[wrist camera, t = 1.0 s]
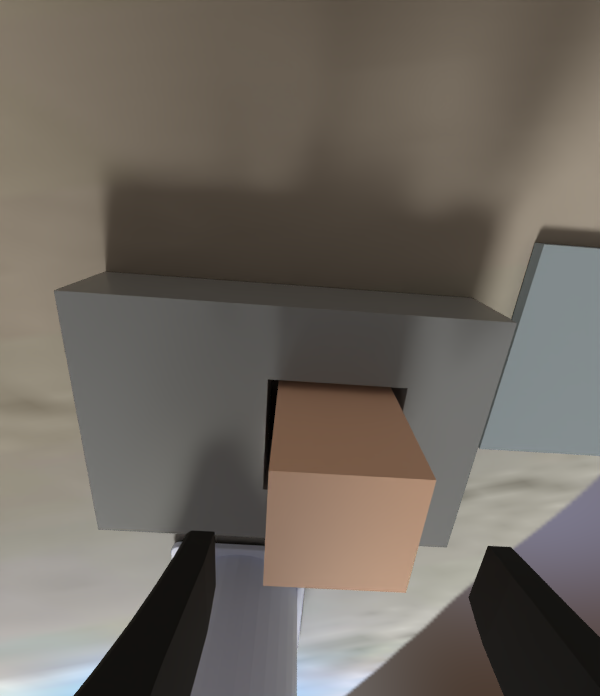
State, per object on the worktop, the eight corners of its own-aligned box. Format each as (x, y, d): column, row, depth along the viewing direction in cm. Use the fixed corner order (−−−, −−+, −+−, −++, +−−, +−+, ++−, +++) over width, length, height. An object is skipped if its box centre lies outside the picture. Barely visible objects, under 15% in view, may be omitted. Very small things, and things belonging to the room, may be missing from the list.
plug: (363, 438, 19) (405, 592, 11) (277, 433, 19) (262, 585, 11) (376, 359, 17) (436, 480, 10) (281, 352, 17) (268, 470, 10)
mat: (623, 450, 19) (633, 457, 18) (474, 441, 19) (479, 448, 18) (720, 257, 15) (735, 259, 15) (535, 242, 15) (544, 244, 15)
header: (422, 491, 20) (446, 547, 17) (131, 475, 20) (98, 529, 16) (472, 298, 16) (516, 322, 13) (105, 271, 15) (53, 290, 12)
